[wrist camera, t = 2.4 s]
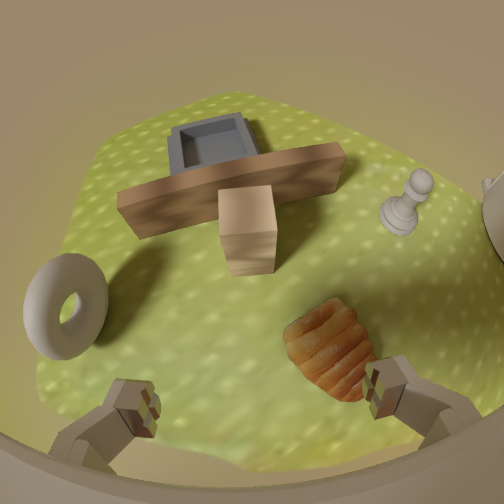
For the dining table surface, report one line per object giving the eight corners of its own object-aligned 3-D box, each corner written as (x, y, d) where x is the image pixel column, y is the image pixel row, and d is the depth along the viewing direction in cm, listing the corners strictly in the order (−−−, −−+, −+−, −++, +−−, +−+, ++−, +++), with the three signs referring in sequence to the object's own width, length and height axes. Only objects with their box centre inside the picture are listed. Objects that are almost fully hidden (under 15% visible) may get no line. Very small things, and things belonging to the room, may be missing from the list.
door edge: (327, 179, 31) (337, 141, 26) (334, 192, 30) (346, 155, 25) (139, 224, 29) (117, 192, 24) (140, 239, 29) (116, 208, 23)
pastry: (388, 372, 22) (407, 370, 18) (331, 418, 21) (342, 425, 17) (332, 295, 26) (342, 281, 22) (272, 336, 24) (273, 329, 21)
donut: (103, 273, 27) (49, 227, 18) (127, 284, 26) (74, 237, 17) (69, 356, 23) (1, 337, 14) (91, 372, 22) (22, 359, 13)
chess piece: (383, 195, 30) (407, 148, 23) (416, 212, 29) (447, 169, 22) (374, 225, 28) (401, 178, 21) (410, 243, 27) (445, 202, 20)
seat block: (247, 123, 36) (246, 106, 33) (270, 180, 31) (270, 162, 29) (169, 141, 35) (163, 125, 32) (175, 203, 30) (168, 186, 28)
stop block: (269, 235, 28) (270, 185, 21) (273, 273, 26) (277, 230, 19) (229, 239, 28) (218, 189, 21) (231, 277, 26) (219, 235, 19)
